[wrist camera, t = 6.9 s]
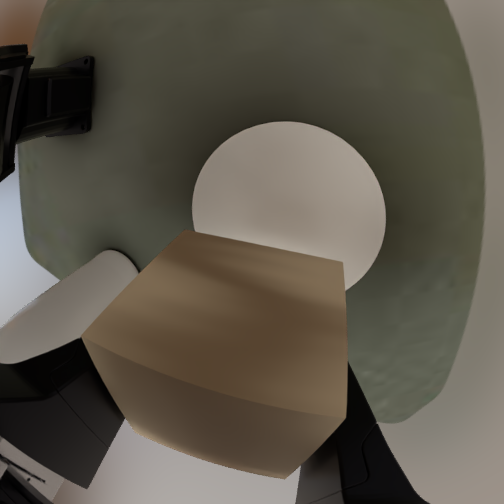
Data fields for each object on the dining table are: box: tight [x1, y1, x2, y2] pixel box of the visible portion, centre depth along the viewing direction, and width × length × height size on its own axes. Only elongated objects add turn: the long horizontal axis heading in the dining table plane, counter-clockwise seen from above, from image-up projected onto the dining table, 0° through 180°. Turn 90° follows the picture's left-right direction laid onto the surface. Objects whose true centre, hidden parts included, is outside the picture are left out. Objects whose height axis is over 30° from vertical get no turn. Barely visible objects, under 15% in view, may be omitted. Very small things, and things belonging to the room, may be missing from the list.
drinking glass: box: [0, 250, 139, 364], centre depth 17 cm, size 7×7×15 cm
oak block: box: [81, 230, 348, 479], centre depth 7 cm, size 5×5×5 cm
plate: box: [192, 121, 386, 291], centre depth 17 cm, size 12×12×1 cm
